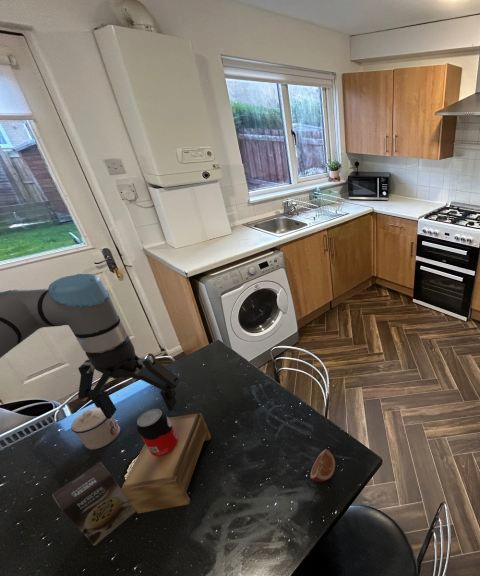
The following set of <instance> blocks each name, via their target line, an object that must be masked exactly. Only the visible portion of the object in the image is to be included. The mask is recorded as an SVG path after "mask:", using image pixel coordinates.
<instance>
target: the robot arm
mask: <svg viewBox="0 0 480 576" xmlns="http://www.w3.org/2000/svg"><path fill="white" fill-rule="evenodd" d="M62 326H68V327H69V328H70V331H71V332H72V333H73V335H74V336H75V339H76V340H77V343H78V344H79V345H80V347H81V349H82V351H83V352H85V356H86V357H87V359H86V360H85V361H84V362H83V363H82V364H81V365H80V366H79V367H78V371H79V372H78V373H79V374H80V380H79V386H78V393H77V398H78V399H80V400H83V399H85V398H86V399H88V400H90V401H92V402H93V404H94V405H95V406H94V407H97V408H100V409H101V410H102V412H103V414H104V415H105V417H106V418H107V419H111V417H112V416H113V417H114V415H115V413H116V411H117V410H118V409H117V406H115V404H114V402H113V401H112V398H111V396H109V394H108V392H107V391H106V390H103V388H104V387H105V385H106V384H107V382H108V381H109V379H110V378H112V379H114V380H116V379H120V378H123V379H124V378H125V379H126V378H132V379H134V380H138V379H139V380H140V381H143V382H144V383H146V384H149V385H150V386H153V387H155V388H157V389H159V390H160V392H159V394H160V396H161V397H162V400H163V401H164V403H165V405H166V408H167V410H168V412H173V410H174V409H175V406H176V404H177V399H176V398H175V396H176V395H177V391H176V390H175V388H176V387H177V386H178V384H179V382H180V380H181V378H180V377H179V376H177V374H175V373H173V372H172V371H171V370H170V369H169V368H167V367H166V366H165V365H164V364H162V363H161V362H160V361H159V360H157V359H156V356H155V355H154V354H153V353H148V354H147V355H145V356H142V357H139V356H138V355H137V354H136V351H135V346H134V344H133V343H132V341H131V338H130V336H128V332H127V330H126V328H125V326H124V324H123V322H122V320H121V318H120V316H119V315H118V313H117V310H116V308H115V306H114V303H113V301H112V298H111V296H110V292H109V291H108V290H107V288H106V287H105V285H104V284H103V282H102V280H101V278H99V276H98V275H95V274H93V273H86V272H85V273H84V272H83V273H76V274H71V275H67V276H63V277H62V276H61V277H60V278H58V279H55V280H53V281H52V282H51V283H50V284H48V288H36V289H34V288H33V289H11V290H6V291H0V359H1V358H3V357H4V356H5V355H7V354H8V353H9V352H10V351H11V350H13V349H14V348H16V347H17V346H18V345H20V344H21V343H22V342H24V341H25V340H26V339H27V338H29V337H30V336H31V335H33V334H34V333H36V332H37V331H39V330H40V329H42V328H54V327H62ZM137 369H138V371H137ZM95 370H96V371H97V372H98V373H101V374H102V375H101V376H100V378H99V379H98V382H97V383H96V384H95V386H94V388H93V389H92V387H93V382H94V381H93V380H94V375H95ZM136 371H137V372H136Z"/></svg>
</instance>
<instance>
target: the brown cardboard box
mask: <svg viewBox="0 0 480 576" xmlns="http://www.w3.org/2000/svg"><path fill="white" fill-rule="evenodd" d="M121 488H122V487H120V486H119V484H118V483H117V481H116V480H115V478H114V477H113V475H112V474H111V472H110V471H109V470H108V469H107V467H106V466H105V465H104V464H103V463H102V462H101V461H99V462H97V463H96V464H94V465H93V466H92V467H90V468H88V469H86V470H85V471H84V472H83V473H81V474H79V475H78V476H77V477H75V478H74V479H72V480H71V481H69V482H68V483H66V484H64V485H63V486H62V487H61V488H59V489H58V490H56V491H54V492H53V493H52V498H53V499H54V501H55V503H56V504H57V505H58V507H59V508H60V510H61V511H62V512H63V513H64V514H65V515H66V517H67V518H68V519H69V520H70V521H71V522H72V523H73V524H74V525H75V527H77V528H78V530H79V531H80V532H81V533H82V534H83V535H84V536H85V537H86V539H87V540H89V542H90V543H91V544H92V545H93V546H97V545H98V544H99V543H100V542H101V541H102V540H103V539H105V538H106V537H107V536H108V535H109V534H111V533H112V532H113V531H114V530H116V529H117V528H118V527H119V526H121V525H122V524H123V523H124V522H125V521H127V520H128V519H129V518H130V517H132V516H133V515H134V514H135V513H137V512H136V510H135V509H134V507H133V506H132V505H131V503H130V502H129V501H128V499H127V498H126V497H125V495H124V494H123V493H122V491H121Z"/></svg>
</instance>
